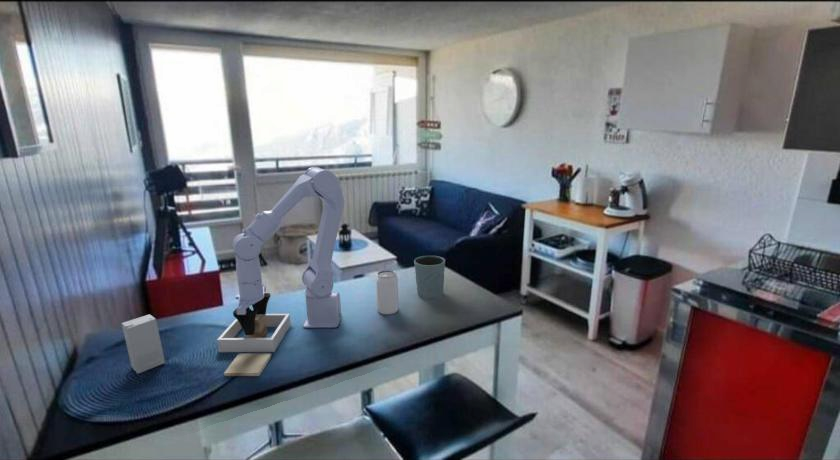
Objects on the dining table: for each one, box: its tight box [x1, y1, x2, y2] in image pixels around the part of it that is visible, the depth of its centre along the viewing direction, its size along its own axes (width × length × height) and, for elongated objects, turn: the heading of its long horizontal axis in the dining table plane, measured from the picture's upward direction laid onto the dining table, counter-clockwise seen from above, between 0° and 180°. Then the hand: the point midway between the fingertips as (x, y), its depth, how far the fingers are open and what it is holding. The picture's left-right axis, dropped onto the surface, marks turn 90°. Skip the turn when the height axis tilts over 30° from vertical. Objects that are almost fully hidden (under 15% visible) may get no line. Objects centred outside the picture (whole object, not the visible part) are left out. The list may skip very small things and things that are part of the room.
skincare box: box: [121, 314, 166, 375], centre depth 97 cm, size 6×4×12 cm
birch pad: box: [223, 353, 272, 377], centre depth 99 cm, size 8×8×1 cm
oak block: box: [245, 314, 268, 338], centre depth 111 cm, size 4×4×6 cm
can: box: [375, 269, 399, 316], centre depth 125 cm, size 6×6×12 cm
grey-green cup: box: [413, 255, 446, 300], centre depth 137 cm, size 10×10×12 cm
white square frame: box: [216, 313, 292, 353], centre depth 111 cm, size 14×14×4 cm
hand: (255, 327), depth 111 cm, fingers open, 7 cm apart
